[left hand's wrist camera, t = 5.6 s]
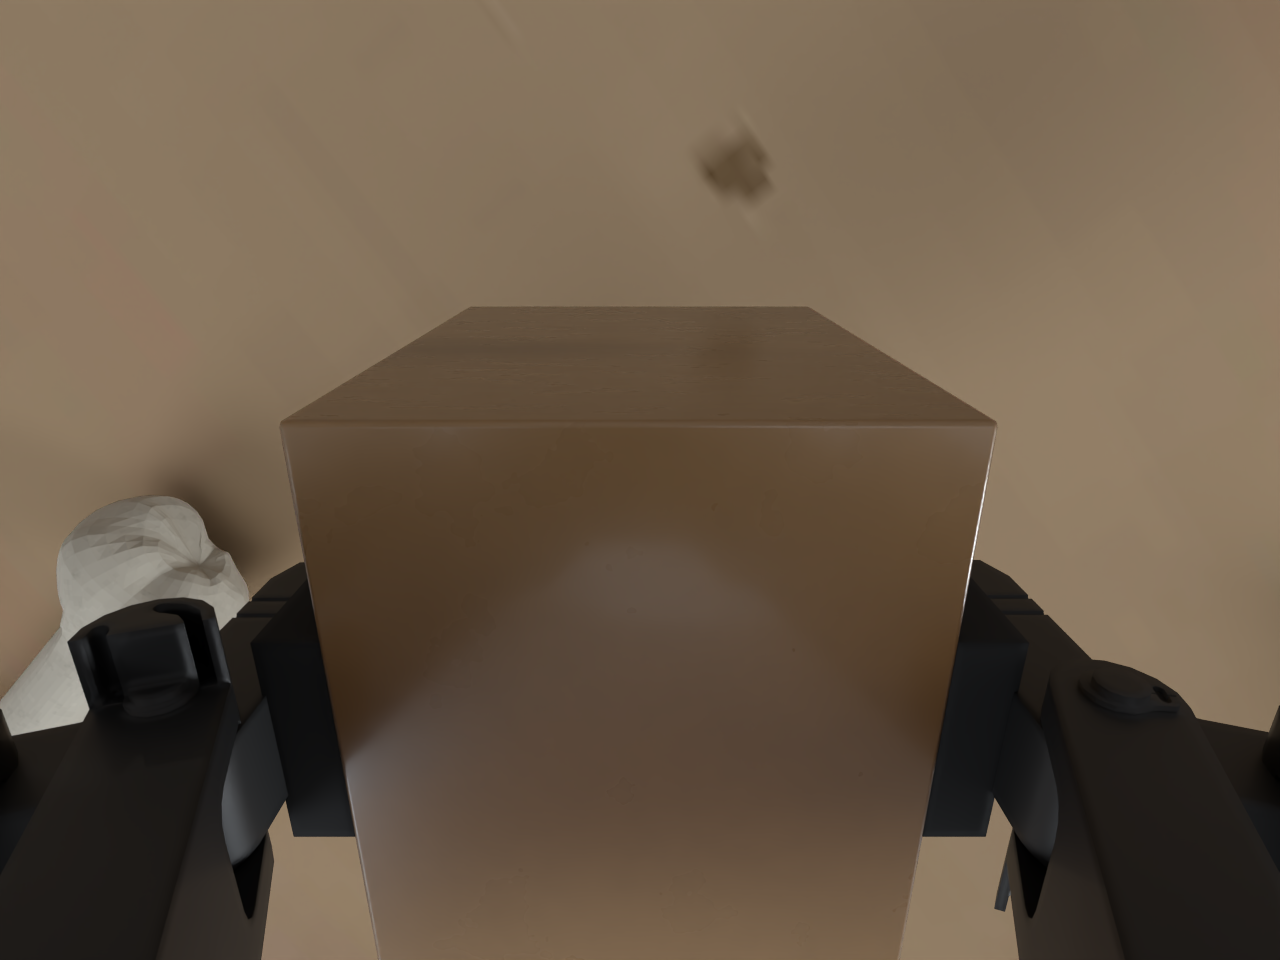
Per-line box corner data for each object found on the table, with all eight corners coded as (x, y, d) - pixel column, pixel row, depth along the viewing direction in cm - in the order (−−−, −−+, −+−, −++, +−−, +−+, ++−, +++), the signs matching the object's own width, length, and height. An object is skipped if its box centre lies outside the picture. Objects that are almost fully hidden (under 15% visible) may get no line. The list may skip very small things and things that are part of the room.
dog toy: (34, 854, 32) (-70, 967, 27) (-99, 779, 30) (-234, 884, 26) (304, 567, 27) (232, 646, 22) (159, 458, 25) (50, 517, 20)
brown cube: (782, 634, 17) (897, 980, 9) (495, 634, 17) (379, 979, 9) (809, 305, 14) (1002, 421, 7) (468, 306, 14) (274, 421, 7)
